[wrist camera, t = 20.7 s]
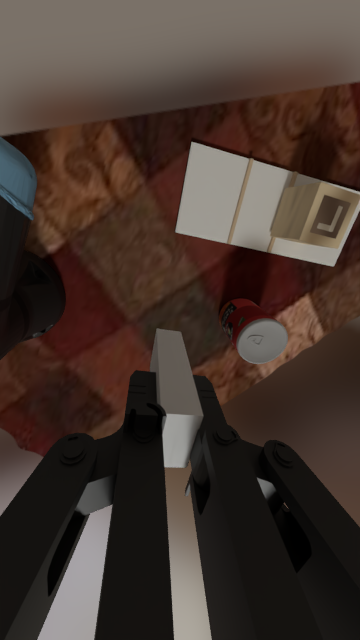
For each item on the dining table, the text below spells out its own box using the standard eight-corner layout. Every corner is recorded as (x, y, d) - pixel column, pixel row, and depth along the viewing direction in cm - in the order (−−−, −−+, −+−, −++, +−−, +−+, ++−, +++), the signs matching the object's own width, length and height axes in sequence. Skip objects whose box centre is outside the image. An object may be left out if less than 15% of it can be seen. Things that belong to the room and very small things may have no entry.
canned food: (219, 296, 41) (241, 320, 31) (260, 296, 42) (294, 319, 32) (215, 333, 44) (234, 365, 34) (253, 332, 45) (282, 363, 35)
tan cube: (338, 248, 32) (303, 243, 39) (362, 195, 30) (320, 199, 36) (299, 239, 30) (269, 236, 37) (321, 181, 28) (285, 188, 34)
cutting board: (175, 232, 36) (175, 232, 35) (191, 143, 31) (192, 140, 30) (331, 266, 41) (335, 267, 40) (363, 194, 37) (369, 193, 36)
